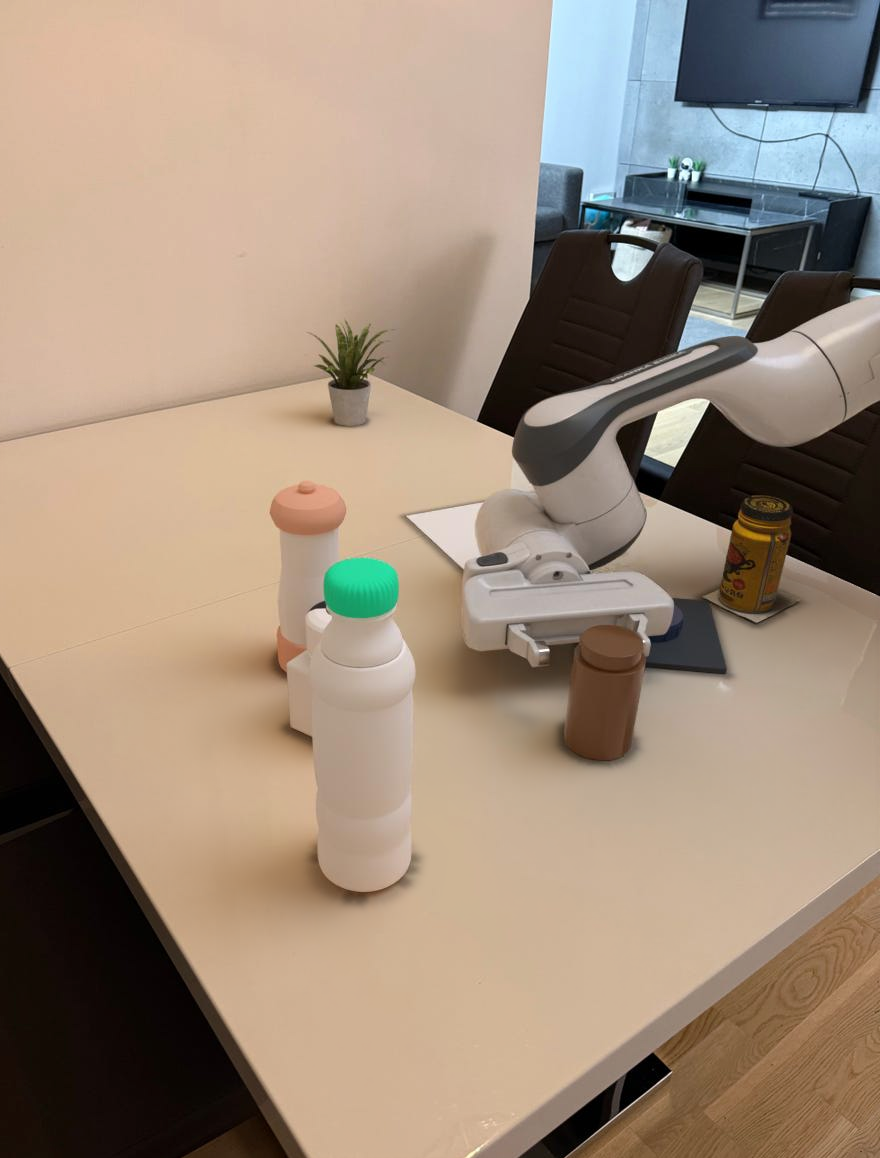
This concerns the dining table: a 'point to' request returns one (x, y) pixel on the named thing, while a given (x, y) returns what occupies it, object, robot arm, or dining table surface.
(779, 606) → the condiment
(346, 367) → the house plant
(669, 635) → the lid
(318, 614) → the medicine bottle
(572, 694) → the jar
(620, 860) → the dining table surface
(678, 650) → the mat
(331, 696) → the water bottle
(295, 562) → the pepper shaker
